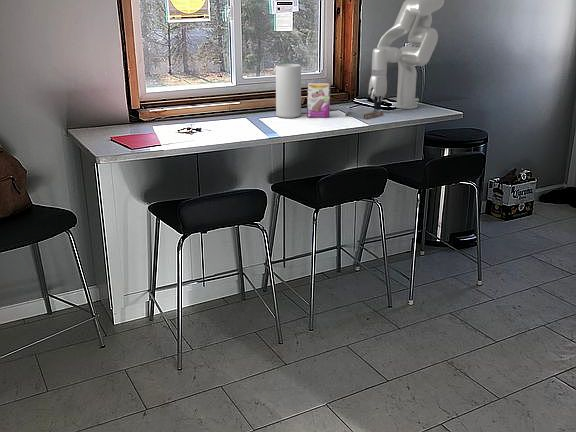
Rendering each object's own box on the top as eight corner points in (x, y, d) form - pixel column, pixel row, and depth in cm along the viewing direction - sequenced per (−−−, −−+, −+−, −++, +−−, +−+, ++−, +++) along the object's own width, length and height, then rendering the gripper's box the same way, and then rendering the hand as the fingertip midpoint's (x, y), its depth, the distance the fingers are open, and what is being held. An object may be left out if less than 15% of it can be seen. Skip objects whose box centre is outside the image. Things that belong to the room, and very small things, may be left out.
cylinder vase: (300, 113, 325) (300, 63, 317) (301, 118, 313) (301, 66, 305) (276, 113, 325) (275, 64, 317) (276, 118, 313) (275, 66, 305)
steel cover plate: (362, 114, 325) (362, 108, 324) (378, 116, 319) (378, 110, 318) (347, 117, 317) (347, 111, 316) (363, 120, 311) (363, 113, 310)
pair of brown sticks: (362, 112, 327) (362, 109, 327) (383, 115, 319) (383, 112, 318) (345, 116, 318) (345, 113, 317) (366, 119, 309) (366, 116, 309)
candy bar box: (306, 117, 314) (307, 84, 309) (307, 115, 319) (307, 83, 313) (329, 118, 313) (329, 84, 308) (329, 116, 318) (330, 83, 312)
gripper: (381, 71, 327) (379, 107, 333) (364, 73, 317) (362, 110, 323) (393, 72, 322) (391, 108, 328) (376, 75, 312) (374, 112, 318)
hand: (377, 109), depth 325 cm, fingers closed
